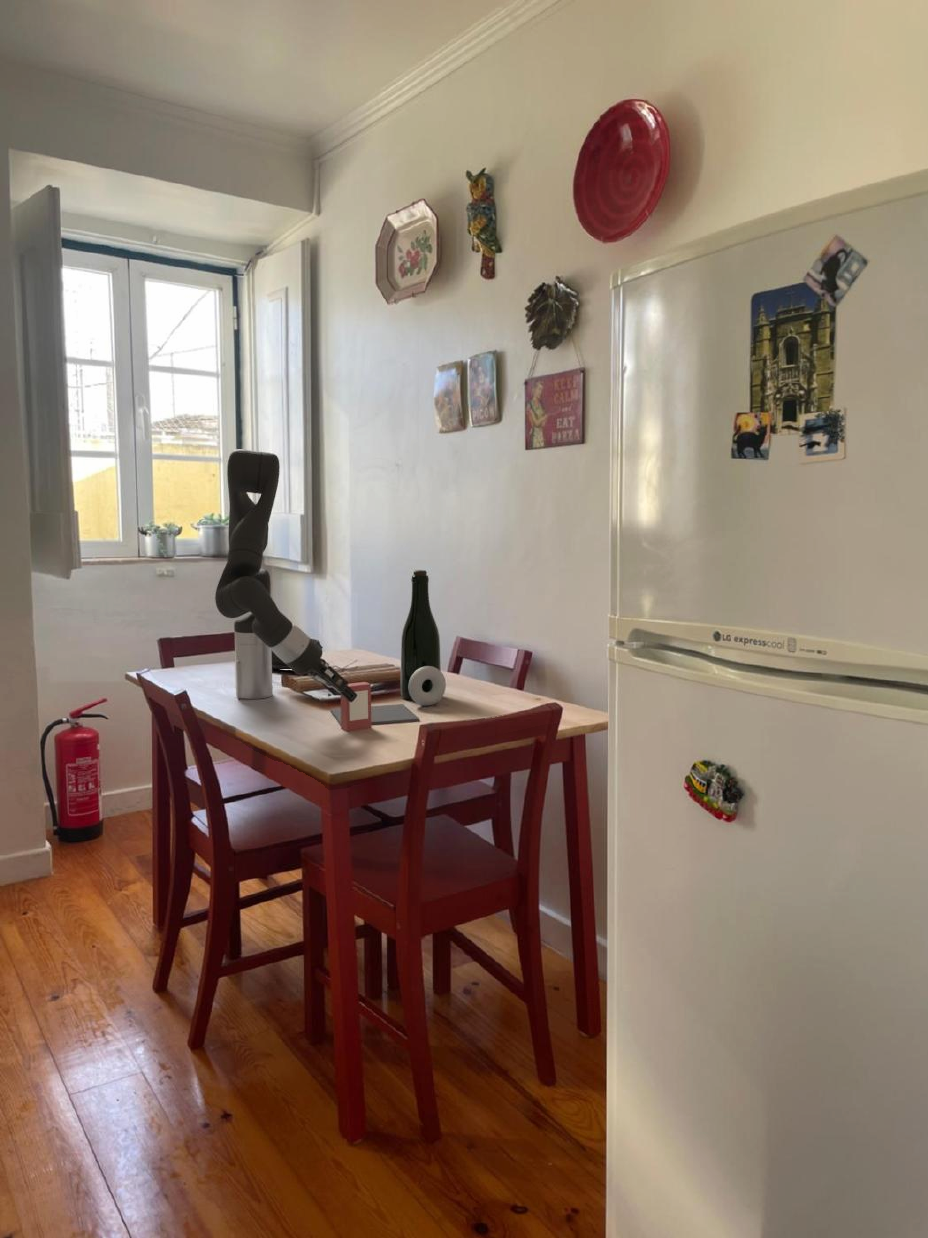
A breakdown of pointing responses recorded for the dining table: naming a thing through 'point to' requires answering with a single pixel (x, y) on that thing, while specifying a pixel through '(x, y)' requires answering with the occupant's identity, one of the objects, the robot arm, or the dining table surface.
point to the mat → (384, 714)
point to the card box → (357, 708)
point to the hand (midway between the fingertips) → (345, 695)
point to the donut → (418, 680)
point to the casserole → (280, 664)
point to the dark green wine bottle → (419, 636)
